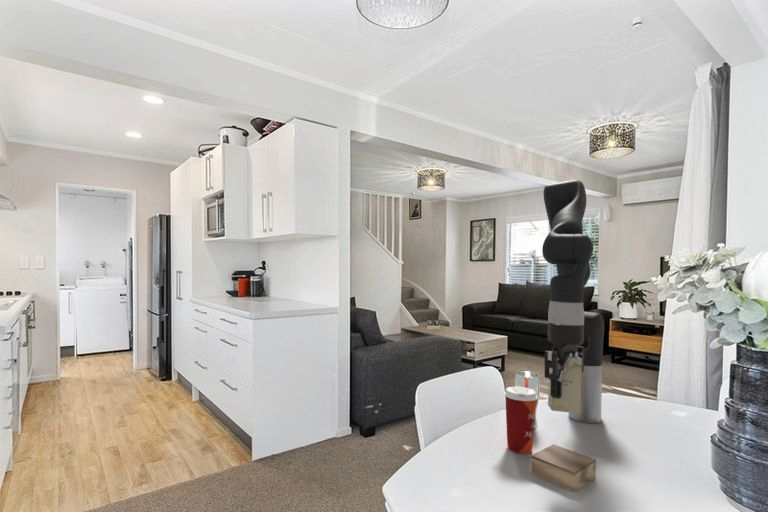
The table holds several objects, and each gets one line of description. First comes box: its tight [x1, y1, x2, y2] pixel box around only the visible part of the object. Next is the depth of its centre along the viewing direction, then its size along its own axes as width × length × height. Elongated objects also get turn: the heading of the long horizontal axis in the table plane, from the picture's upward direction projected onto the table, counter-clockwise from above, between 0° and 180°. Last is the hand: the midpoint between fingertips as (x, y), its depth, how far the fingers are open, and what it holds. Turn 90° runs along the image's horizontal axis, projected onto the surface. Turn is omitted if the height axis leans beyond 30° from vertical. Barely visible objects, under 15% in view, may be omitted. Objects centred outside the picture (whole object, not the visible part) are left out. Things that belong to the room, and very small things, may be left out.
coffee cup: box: [503, 386, 538, 455], centre depth 110 cm, size 8×8×15 cm
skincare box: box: [547, 356, 582, 414], centre depth 96 cm, size 6×4×12 cm
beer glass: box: [514, 370, 541, 429], centre depth 126 cm, size 7×7×15 cm
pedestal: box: [530, 443, 597, 493], centre depth 96 cm, size 10×10×4 cm
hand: (564, 394), depth 96 cm, fingers closed on skincare box, 7 cm apart
